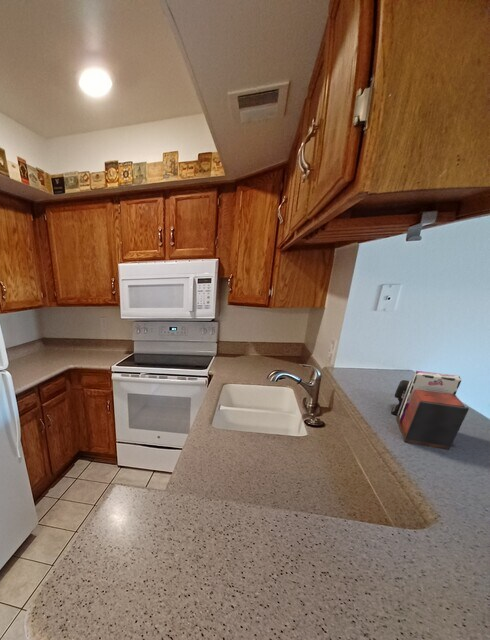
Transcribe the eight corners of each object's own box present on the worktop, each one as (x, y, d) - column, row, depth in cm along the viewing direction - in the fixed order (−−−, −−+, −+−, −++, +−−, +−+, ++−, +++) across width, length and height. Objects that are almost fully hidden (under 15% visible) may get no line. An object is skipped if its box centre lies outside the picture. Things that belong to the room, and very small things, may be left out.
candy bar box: (439, 423, 106) (460, 375, 99) (440, 430, 103) (463, 380, 95) (398, 416, 112) (415, 369, 104) (398, 421, 108) (416, 373, 100)
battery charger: (390, 407, 120) (400, 377, 115) (402, 410, 118) (413, 380, 113) (387, 414, 116) (398, 383, 110) (400, 416, 114) (412, 385, 108)
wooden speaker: (434, 424, 108) (450, 387, 102) (449, 450, 94) (469, 408, 88) (396, 418, 112) (409, 382, 106) (404, 442, 98) (420, 402, 92)
